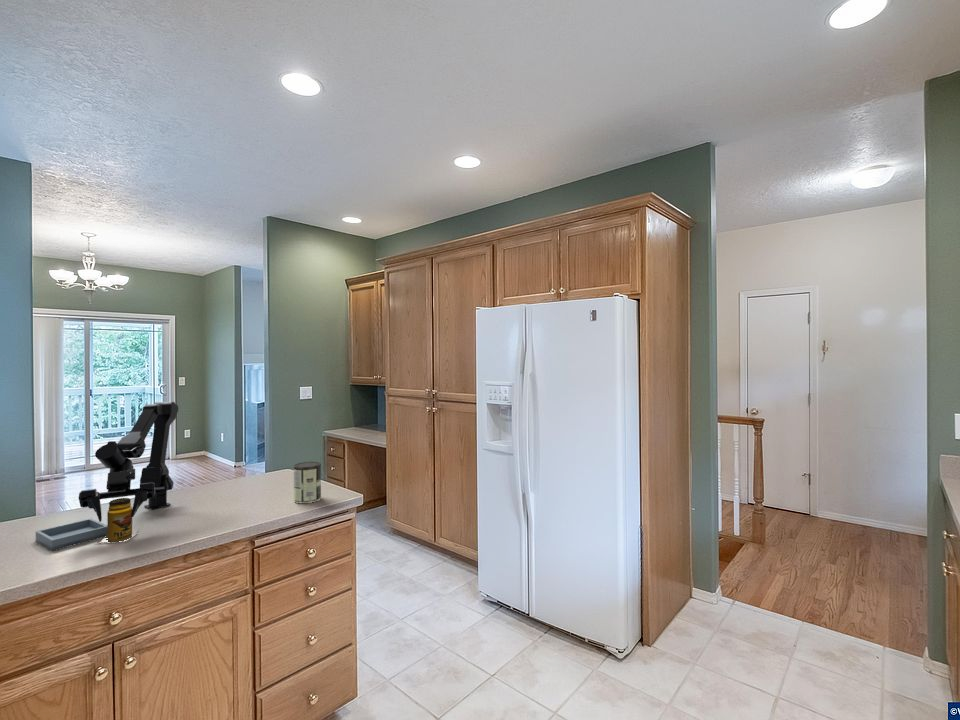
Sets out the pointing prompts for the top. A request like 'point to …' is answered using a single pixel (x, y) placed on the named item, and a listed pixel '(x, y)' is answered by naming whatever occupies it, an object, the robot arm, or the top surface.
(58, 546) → the bin
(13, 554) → the top surface
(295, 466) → the coffee can
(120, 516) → the condiment
